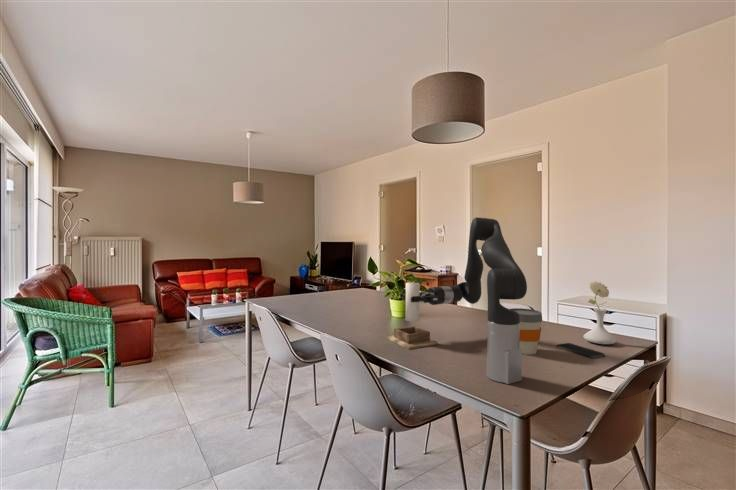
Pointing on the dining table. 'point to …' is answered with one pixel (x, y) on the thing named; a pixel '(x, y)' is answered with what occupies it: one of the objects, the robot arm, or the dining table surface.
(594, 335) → the flower in vase
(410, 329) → the open wooden box
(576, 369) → the dining table surface
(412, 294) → the paper towel roll
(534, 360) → the dining table surface
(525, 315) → the reusable coffee cup
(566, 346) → the phone
